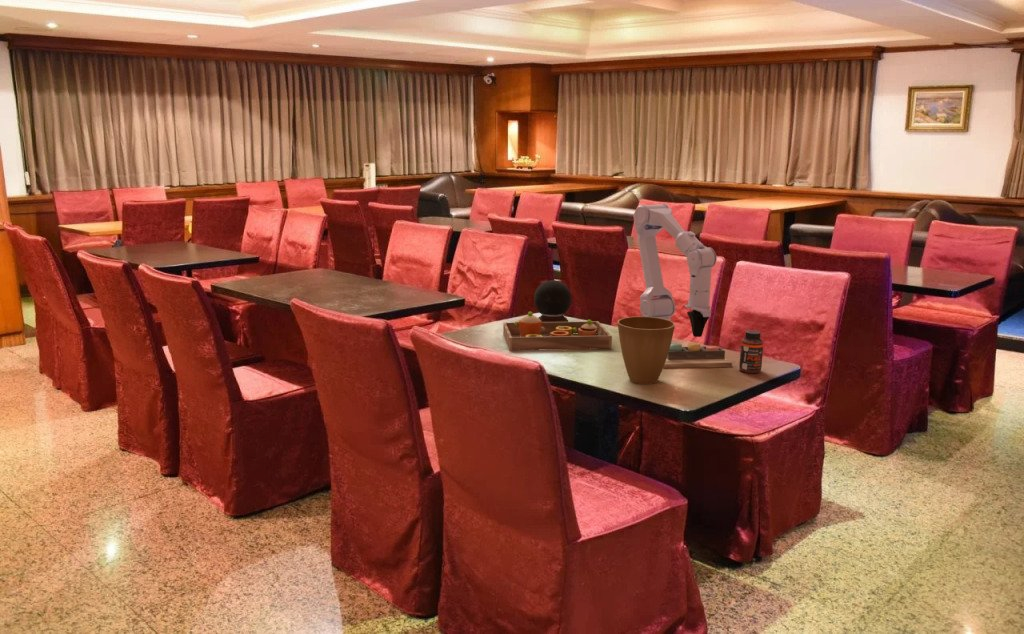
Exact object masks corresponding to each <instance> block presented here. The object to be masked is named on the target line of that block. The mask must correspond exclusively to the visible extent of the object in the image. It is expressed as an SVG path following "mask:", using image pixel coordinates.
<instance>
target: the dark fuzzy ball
mask: <svg viewBox="0 0 1024 634" xmlns="http://www.w3.org/2000/svg"><path fill="white" fill-rule="evenodd" d="M534 292H535V293H534V295H533V302H534V306H535V308H536V310H537V312H538V313H539V314H540V316H537V317H538V318H539V319H540V320H541V321H542V322H569V320H568V317H566V316H565V314H566V313H567V312H568V311H569V310H570V309H571V308H570V307H571V305H572V299H573V298H572V297H573V296H572V294H571V291H570V288H569V287H568V286H567V285H566V284H565V283H563V282H562V281H560V280H554V279H551V280H546V281H545V282H543V283H541V284H540V285H539V286H538V287H537V288H536V289H535V291H534Z"/></svg>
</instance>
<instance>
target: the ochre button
mask: <svg viewBox="0 0 1024 634" xmlns="http://www.w3.org/2000/svg"><path fill="white" fill-rule="evenodd" d="M687 347H688V351H700V347H701V343H698V342H689V343H687Z"/></svg>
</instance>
